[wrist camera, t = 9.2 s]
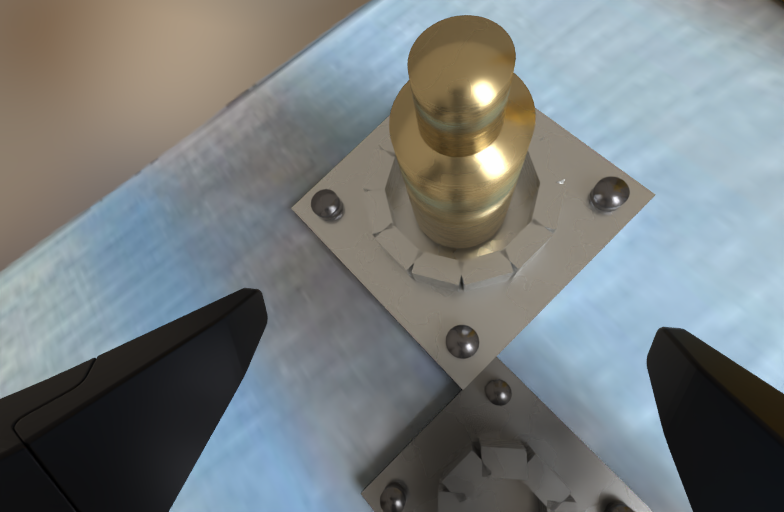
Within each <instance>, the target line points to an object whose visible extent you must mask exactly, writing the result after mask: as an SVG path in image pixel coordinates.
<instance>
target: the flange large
mask: <svg viewBox="0 0 784 512" xmlns="http://www.w3.org/2000/svg"><path fill="white" fill-rule="evenodd" d="M535 113H536V121H535V129H534V132H533V136H532V139H531V142H530V145H529V148H528V151H527V154H526V157H525V160H524V163H523V166H522V169H521V172H520V175H519V178H518V181H517V184H516V187H515V190H514V193H513V196H512V199H511V202H510V205H509V208H508V211H507V214H506V217H505V220H504V222H503V224H502V225H501V227H500V229H499V230H498V231H497V232H496V233H495V234H494V235H493V236H492V237H491V238H490V239H488V240H487V241H485V242H483V243H481V244H479V245H476V246H473V247H469V248H450V247H446V246H443V245H440V244H438V243H436V242H434V241H433V240H431V239H430V238H429V237H427V235H426V234H425V233H424V232H423V231H422V230H421V228H420V227H419V225H418V223H417V221H416V218H415V215H414V212H413V209H412V206H411V202H410V199H409V196H408V193H407V190H406V186H405V183H404V180H403V177H402V174H401V170H400V167H399V164H398V161H397V158H396V155H395V151H394V148H393V145H392V142H391V138H390V133H389V118H390V115H389V116H388V117H387V118H386V119H385V120H384V121H383V122H382V123H381V124H380V125H379V126H378V127H377V128H376V129H375V130H373V131H372V132H371V133H370V134H369V135H368V136H367V137H366V138H365V139H364V140H363V141H362V142H361V143H360V144H359V145H358V146H357V147H355V148H354V149H353V150H352V151H351V152H350V153H349V154H348V155H347V156H346V157H345V158H344V159H343V160H342V161H341V162H340V163H339V164H337V165H336V166H335V167H334V168H333V169H332V170H331V171H330V172H329V173H328V174H327V175H326V176H325V177H324V178H323V179H322V180H321V181H319V182H318V183H317V184H316V185H315V186H314V187H313V188H312V189H311V190H310V191H309V192H308V193H307V194H306V195H305V196H304V197H302V198H301V199H300V200H299V201H298V202H297V203H296V204H295V205H294V206H293V207H292V208H291V209H292V210H293V211H294V212H295V213H296V214H297V215H298V216H299V217H300V218H301V219H302V220H303V221H304V222H305V223H306V224H307V226H308V227H309V228H310V229H311V230H312V231H313V232H314V233H315V234H316V235H317V236H318V237H319V238H320V239H321V240H322V241H323V242H324V243H325V245H326V246H327V247H328V248H329V249H330V250H331V251H332V252H333V253H334V254H335V255H336V256H337V257H338V258H339V259H340V260H341V261H342V263H343V264H344V265H345V266H346V267H347V268H348V269H349V270H350V271H351V272H352V273H353V274H354V275H355V276H356V277H357V278H358V279H359V280H360V282H361V283H362V284H363V285H364V286H365V287H366V288H367V289H368V290H369V291H370V292H371V293H372V294H373V295H374V296H375V297H376V298H377V300H378V301H379V302H380V303H381V304H382V305H383V306H384V307H385V308H386V309H387V310H388V311H389V312H390V313H391V314H392V315H393V316H394V317H395V319H396V320H397V321H398V322H399V323H400V324H401V325H402V326H403V327H404V328H405V329H406V330H407V331H408V332H409V333H410V334H411V335H412V337H413V338H414V339H415V340H416V341H417V342H418V343H419V344H420V345H421V346H422V347H423V348H424V349H425V350H426V351H427V352H428V353H429V355H430V356H431V357H432V358H433V359H434V360H435V361H436V362H437V363H438V364H439V365H440V366H441V367H442V368H443V369H444V370H445V371H446V372H447V374H448V375H449V376H450V377H451V378H452V379H453V380H454V381H455V382H456V383H457V384H458V385H459V386H460V387H461V388H462V389H463V390H464V389H465V388H466V387H467V386H468V385H469V384H470V382H471V381H472V380H473V379H474V378H475V377H476V376H477V375H478V374H479V373H480V372H481V371H482V370H483V369H484V368H485V367H486V366H487V365H488V364H489V363H490V362H491V361H492V360H493V359H494V358H495V357H496V356H497V355H498V354H499V353H500V352H501V351H502V350H503V349H504V348H505V347H506V346H507V345H508V344H509V343H510V342H511V341H512V340H513V339H514V338H515V337H516V336H517V335H518V334H519V333H520V332H521V331H522V330H523V329H524V328H525V327H526V326H527V325H528V324H529V323H530V322H531V321H532V320H533V319H534V318H535V317H536V316H537V315H538V314H539V313H540V312H541V311H542V310H543V308H544V307H545V306H546V305H547V304H548V303H549V302H550V301H551V300H552V299H553V298H554V297H555V296H556V295H557V294H558V293H559V292H560V291H561V290H562V289H563V288H564V287H565V286H566V285H567V284H568V283H569V282H570V281H571V280H572V279H573V278H574V277H575V276H576V275H577V274H578V273H579V272H580V271H581V270H582V269H583V268H584V267H585V266H586V265H587V264H588V263H589V262H590V261H591V260H592V259H593V258H594V257H595V256H596V255H597V254H598V253H599V252H600V251H601V250H602V249H603V248H604V247H605V246H606V245H607V244H608V243H609V242H610V241H611V240H612V239H613V238H614V237H615V236H616V234H617V233H618V232H619V231H620V230H621V229H622V228H623V227H624V226H625V225H626V224H627V223H628V222H629V221H630V220H631V219H632V218H633V217H634V216H635V215H636V214H637V213H638V212H639V211H640V210H641V209H642V208H643V207H644V206H645V205H646V204H647V203H648V202H649V201H650V200H651V199H652V198H653V197H654V196H655V194H654V193H652V192H651V191H650V190H648V189H647V188H645V187H644V186H643V185H641V184H640V183H639V182H637V181H636V180H634V179H633V178H632V177H630V176H629V175H627V174H626V173H625V172H623V171H622V170H621V169H619V168H618V167H616V166H615V165H614V164H612V163H611V162H609V161H608V160H607V159H605V158H604V157H603V156H601V155H600V154H598V153H597V152H596V151H594V150H593V149H591V148H590V147H589V146H587V145H586V144H585V143H583V142H582V141H580V140H579V139H578V138H576V137H575V136H574V135H572V134H571V133H569V132H568V131H567V130H565V129H564V128H562V127H561V126H560V125H558V124H557V123H556V122H554V121H553V120H551V119H550V118H549V117H547V116H546V115H544V114H543V113H542V112H540V111H539V110H538V109H536V108H535Z"/></svg>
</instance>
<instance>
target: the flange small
mask: <svg viewBox="0 0 784 512" xmlns="http://www.w3.org/2000/svg"><path fill="white" fill-rule="evenodd" d="M361 495H362V496H363V497H364V498H365V500H366V501H367V502H368V504H369V505H370V506H371V508H372V509H373V510H374V511H375V512H653V511H652V510H651V509H650V508H649V507H648V506H647V505H646V504H645V503H644V502H643V501H642V500H641V499H640V498H639V497H638V496H637V495H636V494H635V493H634V492H633V491H632V490H631V489H630V488H629V487H628V486H627V485H626V484H625V483H624V482H623V481H622V480H621V479H619V478H618V477H617V476H616V475H615V474H614V473H613V472H612V471H611V470H610V469H609V468H608V467H607V466H606V465H605V464H604V463H603V462H602V461H601V460H600V459H599V458H598V457H597V456H596V455H595V454H594V453H593V452H592V451H591V450H590V449H589V448H588V447H587V446H586V445H585V444H584V443H583V442H582V441H581V440H580V439H579V438H578V437H577V436H576V435H575V434H574V433H573V432H572V431H571V430H570V429H569V428H568V427H567V426H566V425H565V424H564V423H563V422H562V421H561V420H560V419H559V418H558V417H557V416H556V415H555V414H554V413H553V412H552V411H551V410H550V409H549V408H548V407H547V406H546V405H545V404H544V403H543V402H542V401H541V400H540V399H539V398H538V397H537V396H536V395H535V394H534V393H533V392H532V391H531V390H530V389H529V388H528V387H527V386H526V385H525V384H524V383H523V382H522V381H521V380H520V379H519V378H518V377H517V376H516V375H515V374H514V373H513V372H512V371H510V370H509V369H508V368H507V367H506V366H505V365H504V364H503V363H502V362H501V361H500V360H499V359H498V358H497V357H495V358H494V359H493V360H492V361H491V362H490V363H489V364H488V365H487V366H486V367H485V368H484V369H483V370H482V371H481V372H480V373H479V374H478V375H477V376H476V377H475V378H474V379H473V380H472V381H471V382H470V384H469V385H468V386H467V387H466V388H465V389H464V390H463V389H462V390H461V391H460V392H459V393H458V394H457V395H456V396H455V397H454V398H453V399H452V401H451V402H450V403H449V404H448V405H447V406H446V407H445V408H444V409H443V410H442V411H441V412H440V413H439V414H438V415H437V416H436V417H435V418H434V419H433V420H432V421H431V422H430V423H429V424H428V425H427V426H426V427H425V428H424V429H423V430H422V431H421V432H420V433H419V434H418V435H417V436H416V437H415V438H414V439H413V440H412V441H411V442H410V443H409V444H408V445H407V446H406V447H405V448H404V449H403V450H402V451H401V452H400V453H399V454H398V455H397V456H396V457H395V458H394V459H393V460H392V461H391V462H390V463H389V464H388V465H387V466H386V467H385V468H384V469H383V470H382V471H381V472H380V473H379V474H378V475H377V477H376V478H375V479H374V480H373V481H372V482H371V483H370V484H369V485H368V486H367V487H366V488H365V489H364V490H363V491H362V493H361Z"/></svg>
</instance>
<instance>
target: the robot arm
mask: <svg viewBox="0 0 784 512" xmlns="http://www.w3.org/2000/svg"><path fill="white" fill-rule="evenodd" d="M267 319H268V316H267V311H266V307H265V303H264V299H263V295H262V292H261V291H260V290H258V289H251V288H243V289H241V290H238V291H236V292H234V293H232V294H230V295H228V296H226V297H223V298H221V299H219V300H217V301H215V302H213V303H211V304H208V305H206V306H204V307H202V308H200V309H198V310H196V311H193V312H191V313H189V314H187V315H185V316H183V317H181V318H178V319H176V320H174V321H172V322H170V323H168V324H166V325H163V326H161V327H159V328H157V329H155V330H153V331H151V332H148V333H146V334H144V335H142V336H140V337H138V338H136V339H133V340H131V341H129V342H127V343H125V344H123V345H121V346H118V347H116V348H114V349H112V350H110V351H108V352H106V353H103V354H101V355H99V356H98V357H97V359H96V358H92V359H90V360H88V361H86V362H84V363H82V364H80V365H78V366H75V367H73V368H71V369H69V370H67V371H64V372H62V373H60V374H58V375H55V376H53V377H51V378H49V379H47V380H44V381H42V382H39V383H37V384H35V385H32V386H30V387H28V388H25V389H23V390H21V391H18V392H16V393H13V394H11V395H9V396H6V397H4V398H1V399H0V512H169V510H170V508H171V507H172V505H173V503H174V501H175V500H176V498H177V496H178V494H179V492H180V491H181V489H182V487H183V485H184V483H185V482H186V480H187V478H188V476H189V475H190V473H191V471H192V469H193V467H194V466H195V464H196V462H197V460H198V458H199V457H200V455H201V453H202V451H203V450H204V448H205V446H206V444H207V442H208V441H209V439H210V437H211V435H212V433H213V432H214V430H215V428H216V426H217V425H218V423H219V421H220V419H221V417H222V416H223V414H224V412H225V410H226V408H227V407H228V405H229V403H230V401H231V400H232V398H233V396H234V394H235V392H236V391H237V389H238V387H239V385H240V383H241V381H242V379H243V378H244V376H245V373H246V371H247V369H248V367H249V365H250V362H251V360H252V358H253V355H254V353H255V351H256V348H257V346H258V344H259V341H260V339H261V336H262V334H263V332H264V329H265V327H266V324H267ZM647 369H648V373H649V377H650V381H651V385H652V389H653V393H654V397H655V401H656V405H657V409H658V413H659V417H660V421H661V425H662V428H663V432H664V435H665V438H666V441H667V444H668V447H669V449H670V452H671V455H672V457H673V460H674V463H675V465H676V468H677V471H678V473H679V476H680V479H681V481H682V484H683V486H684V489H685V492H686V494H687V497H688V500H689V502H690V505H691V508H692V510H693V512H784V394H783V393H782V392H780V391H778V390H777V389H775V388H774V387H772V386H771V385H769V384H768V383H766V382H765V381H763V380H762V379H760V378H759V377H757V376H755V375H754V374H752V373H751V372H749V371H748V370H746V369H745V368H743V367H742V366H740V365H739V364H737V363H735V362H734V361H732V360H731V359H729V358H728V357H726V356H725V355H723V354H722V353H720V352H719V351H717V350H715V349H714V348H712V347H711V346H709V345H708V344H706V343H705V342H703V341H702V340H700V339H699V338H697V337H695V336H694V335H692V334H691V333H689V332H688V331H686V330H684V329H681V328H672V327H661V328H659V329H658V331H657V332H656V335H655V337H654V340H653V342H652V345H651V348H650V350H649V353H648V355H647Z"/></svg>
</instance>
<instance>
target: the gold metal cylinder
mask: <svg viewBox="0 0 784 512" xmlns="http://www.w3.org/2000/svg"><path fill="white" fill-rule="evenodd" d="M515 60H516V53H515V47H514V44H513V41H512V39H511V38H510V36H509V35H508V33H507V32H506V31H505V30H504V29H503V28H502V27H501V26H499V25H498V24H497V23H495V22H493V21H491V20H489V19H486V18H483V17H479V16H472V15H462V16H455V17H450V18H447V19H444V20H441V21H439V22H437V23H435V24H433V25H432V26H430V27H429V28H427V29H426V30H425V31H424V32H423V33H422V34H421V35H420V36H419V37H418V38H417V40H416V41H415V42H414V44H413V46H412V48H411V50H410V53H409V57H408V74H409V79H410V80H409V81H408V82H407V83H406V84H405V85H404V86H403V88H402V89H401V90H400V92H399V93H398V95H397V97H396V99H395V101H394V103H393V106H392V109H391V113H390V118H389V133H390V138H391V142H392V145H393V148H394V151H395V155H396V158H397V161H398V164H399V167H400V170H401V174H402V177H403V180H404V183H405V186H406V190H407V193H408V196H409V199H410V202H411V206H412V209H413V212H414V215H415V218H416V221H417V223H418V225H419V227H420V228H421V230H422V231H423V232H424V233H425V234H426V235H427V237H429V238H430V239H431V240H433V241H434V242H436V243H438V244H440V245H443V246H446V247H450V248H469V247H473V246H476V245H479V244H481V243H483V242H485V241H487V240H488V239H490V238H491V237H492V236H493V235H494V234H495V233H496V232H497V231H498V230H499V229H500V227H501V225H502V224H503V222H504V220H505V217H506V214H507V211H508V208H509V205H510V202H511V199H512V196H513V193H514V190H515V187H516V184H517V181H518V178H519V175H520V172H521V169H522V166H523V163H524V160H525V157H526V154H527V151H528V148H529V145H530V142H531V139H532V136H533V132H534V129H535V121H536V113H535V106H534V102H533V99H532V96H531V94H530V92H529V90H528V88H527V87H526V85H525V84H524V83H523V81H522V80H521V79H520V78H519V77H518V76H517V75H516V74H515V73H513V71H514V66H515Z"/></svg>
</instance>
